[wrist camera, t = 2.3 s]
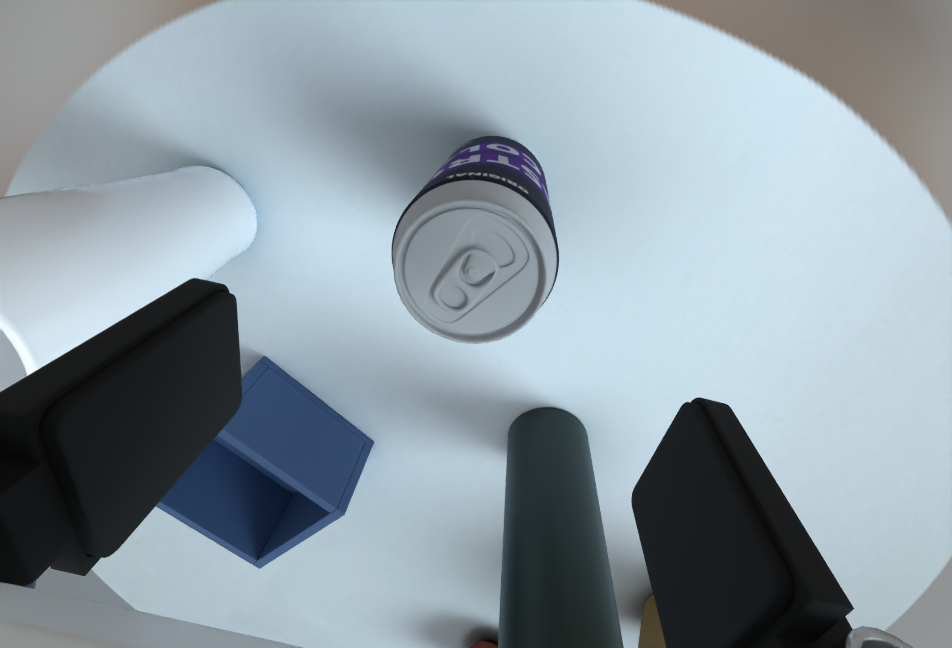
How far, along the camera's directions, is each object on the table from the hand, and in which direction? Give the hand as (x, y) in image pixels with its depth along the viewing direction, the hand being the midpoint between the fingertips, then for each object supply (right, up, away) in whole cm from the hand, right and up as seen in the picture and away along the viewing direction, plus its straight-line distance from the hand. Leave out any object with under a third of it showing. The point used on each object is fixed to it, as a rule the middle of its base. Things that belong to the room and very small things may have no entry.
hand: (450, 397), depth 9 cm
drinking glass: (-15, +8, +17) cm, 24 cm away
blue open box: (-15, -7, +26) cm, 31 cm away
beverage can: (+2, +9, +15) cm, 18 cm away
